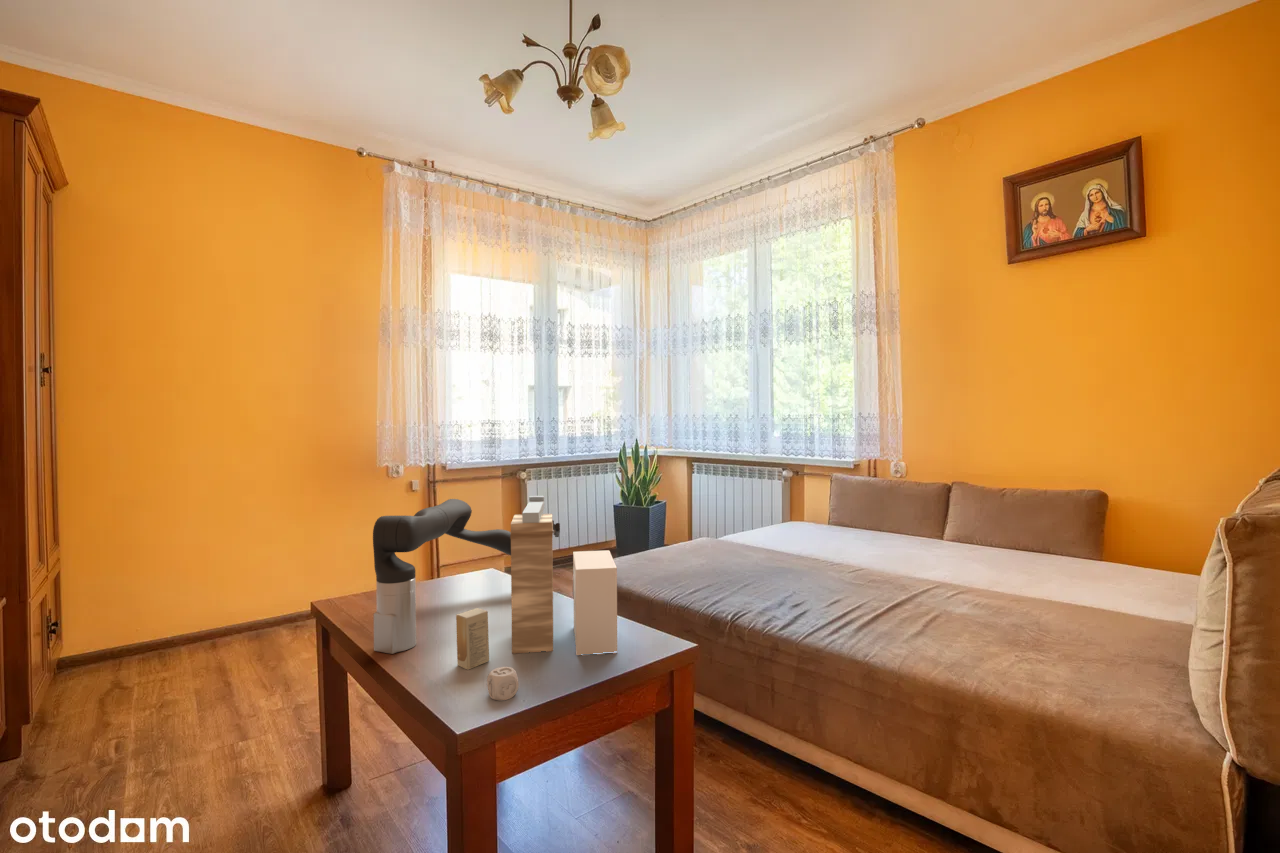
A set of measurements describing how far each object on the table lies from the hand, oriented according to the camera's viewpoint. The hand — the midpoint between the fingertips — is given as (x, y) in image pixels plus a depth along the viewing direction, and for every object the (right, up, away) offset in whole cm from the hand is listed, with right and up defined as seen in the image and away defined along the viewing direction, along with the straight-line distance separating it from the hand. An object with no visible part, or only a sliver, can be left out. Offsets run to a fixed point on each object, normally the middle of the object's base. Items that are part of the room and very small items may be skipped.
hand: (535, 522), depth 175 cm
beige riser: (+19, -27, -20) cm, 39 cm away
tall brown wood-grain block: (+3, -28, -21) cm, 35 cm away
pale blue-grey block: (+3, +5, -16) cm, 17 cm away
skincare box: (-9, -28, -35) cm, 46 cm away
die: (+2, -28, -51) cm, 58 cm away
